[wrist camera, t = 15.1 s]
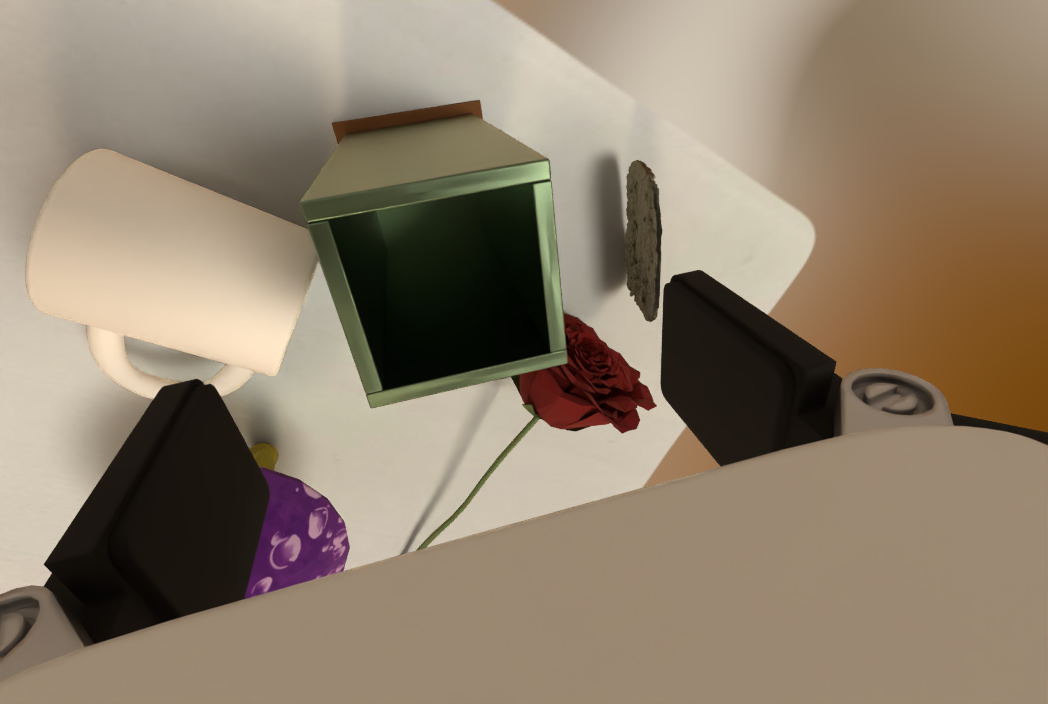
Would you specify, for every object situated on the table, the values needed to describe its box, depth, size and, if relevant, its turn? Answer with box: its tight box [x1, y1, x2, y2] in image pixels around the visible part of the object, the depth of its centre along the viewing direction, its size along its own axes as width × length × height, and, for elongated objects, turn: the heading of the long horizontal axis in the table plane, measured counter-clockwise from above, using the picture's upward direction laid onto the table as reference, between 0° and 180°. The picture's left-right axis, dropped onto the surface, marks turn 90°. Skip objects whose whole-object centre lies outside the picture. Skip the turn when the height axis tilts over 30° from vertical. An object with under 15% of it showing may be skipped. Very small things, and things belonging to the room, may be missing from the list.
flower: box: [416, 313, 657, 551], centre depth 38 cm, size 11×10×30 cm
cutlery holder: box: [300, 113, 568, 408], centre depth 23 cm, size 7×7×16 cm
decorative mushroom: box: [245, 443, 350, 599], centre depth 29 cm, size 12×12×15 cm
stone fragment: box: [625, 160, 662, 322], centre depth 32 cm, size 10×1×5 cm, turn 7°
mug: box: [25, 149, 319, 399], centre depth 26 cm, size 12×10×8 cm
